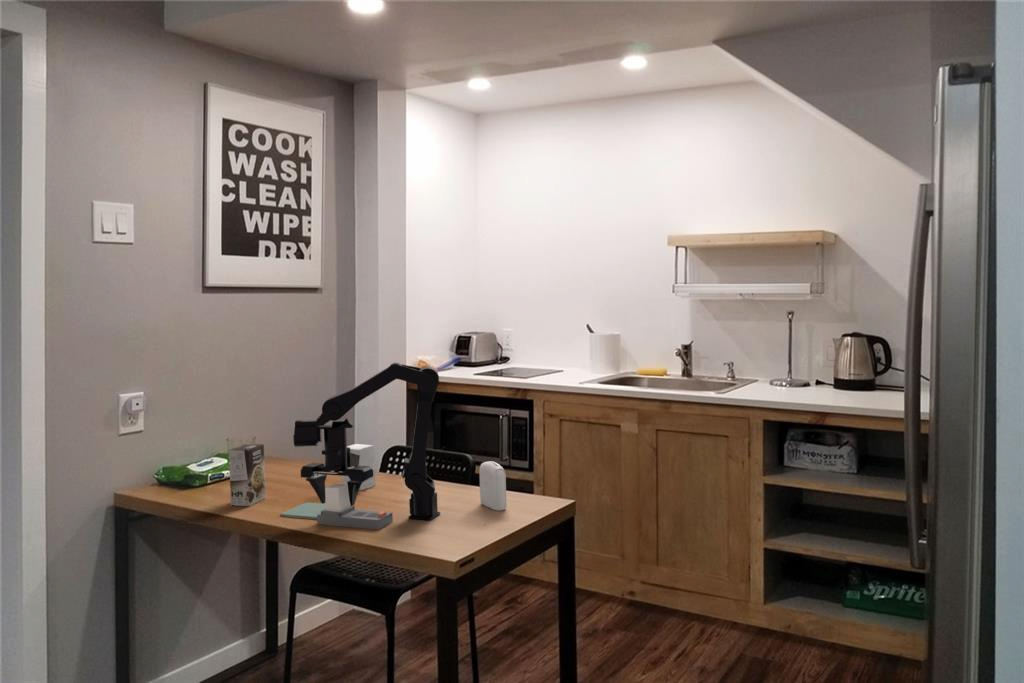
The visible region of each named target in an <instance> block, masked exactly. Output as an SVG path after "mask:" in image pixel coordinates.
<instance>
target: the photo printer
mask: <svg viewBox="0 0 1024 683" xmlns="http://www.w3.org/2000/svg"><path fill="white" fill-rule="evenodd" d="M478 470H479V471H478V472H479V498H480V503H481V505H483V506H485V507H487V508H489V509H492V510H494V511H504V510H506V509H507V506H508V505H507V482H506V481H507V478H506V477H507V476H506V471H505V469H504V468H503V466H501V465H500V464H499V463H497V462H496V461H493V460H492V461H491V460H490V461H489V460H488V461H484V462H482V463H481V464H480V466H479V469H478Z"/></svg>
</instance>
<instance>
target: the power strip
mask: <svg viewBox="0 0 1024 683" xmlns="http://www.w3.org/2000/svg"><path fill="white" fill-rule="evenodd" d="M393 515H394V514H393V512H392V511H391V512H390V511H383V510H382V511H379V510H367V509H366V510H365V509H355V505H353V506H351V505H350V507H349V508H347V509H345V510H343V511H341V512H333V511H326V509H324V510H322V511H321V513H320V514H318V515H317V519H316V520H317V522H316V524H317V525H323V526H325V525H326V526H335V527H336V526H337V527H346V528H348V527H350V528H357V529H358V528H360V529H369V530H381V529H383V528H384V527H386V526H387V525H389V524H391V523H393V520H394V519H393V518H394V517H393Z"/></svg>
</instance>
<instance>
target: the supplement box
mask: <svg viewBox="0 0 1024 683" xmlns="http://www.w3.org/2000/svg"><path fill="white" fill-rule="evenodd" d="M347 447H350V452H351V453H353V454H357V455H360V459H359V466H371V468H372V469H373V477H371V478H369V479H368V480H366V481H364V482H363V483H362V484H361V486H360V488H359V491H364V490H367V489H370V488H372V487H375V486H376V485H377V484H376V463H375V445H372V444H362V443H355V444H350V445H347ZM352 468H354V466H352V467H348V469H352ZM341 477H342V483H343V484H347V482H348V481H350V478H349V476H341Z"/></svg>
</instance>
